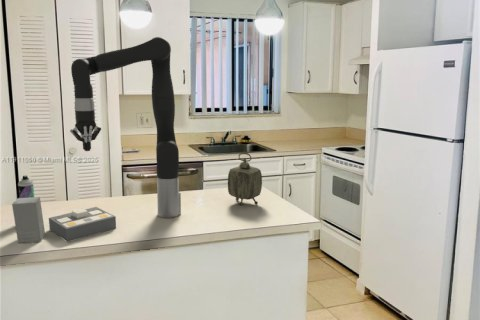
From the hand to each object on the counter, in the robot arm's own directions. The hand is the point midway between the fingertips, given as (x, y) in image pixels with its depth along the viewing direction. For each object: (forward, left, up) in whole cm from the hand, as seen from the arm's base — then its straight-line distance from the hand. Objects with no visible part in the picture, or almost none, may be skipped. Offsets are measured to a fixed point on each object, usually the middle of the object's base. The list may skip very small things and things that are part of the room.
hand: (87, 150), depth 182 cm
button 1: (+16, +9, -27) cm, 32 cm away
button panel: (+9, +11, -29) cm, 32 cm away
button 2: (+3, +9, -27) cm, 29 cm away
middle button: (+9, +9, -25) cm, 28 cm away
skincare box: (+28, +8, -29) cm, 41 cm away
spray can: (+22, -10, -29) cm, 38 cm away
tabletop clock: (-61, +32, -29) cm, 75 cm away
